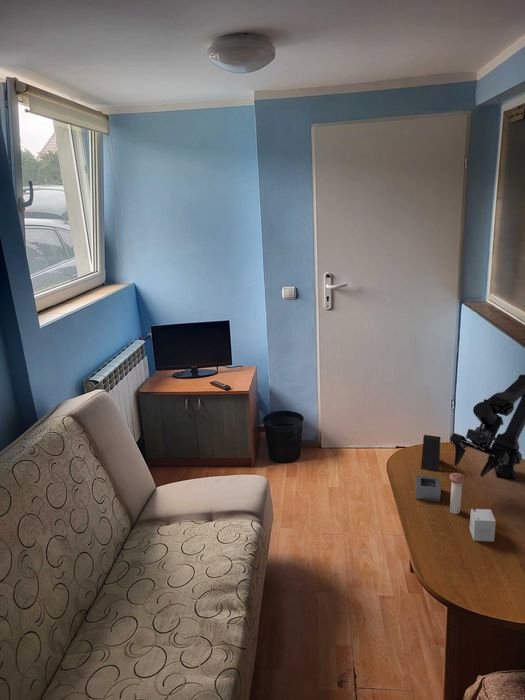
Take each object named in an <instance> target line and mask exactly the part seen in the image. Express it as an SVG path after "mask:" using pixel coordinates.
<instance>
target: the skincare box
mask: <svg viewBox="0 0 525 700" xmlns="http://www.w3.org/2000/svg"><path fill="white" fill-rule="evenodd" d="M496 523H497V522H496V519H495V516H494V513H493V511H492V510H491V509H487V508H486V509H485V508H484V509H483V508H471V509H470V519H469V530H470V531H469V532H470V535H471V537H472V541H476V542H495V535H496V534H495V533H496V526H497V525H496Z"/></svg>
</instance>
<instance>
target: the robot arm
mask: <svg viewBox="0 0 525 700" xmlns="http://www.w3.org/2000/svg"><path fill="white" fill-rule="evenodd" d="M518 400H519V402H518V405H517V406H516V409H515V405H514V404H515V403H516V402H517V401H518ZM472 409H473V411H472V412H473V415H474V416H475V417H476V419H477V420H478V421H479V422H480V425H479V426H476V428H475V429H471V428H468V429H467V432H466V435H465V436H463V435H461V434H459V433H452V434H451V435H450V437H449V440H450V441H451V442H452V445H454V447H455V455H454V466H455V467H457V466H458V465H459V464H460V462H461V459H462V458H463V456H464V455H465V452H466V448H470V449H472V450H475V451H479V452H480V453H484V454H486V455H488V457H487V460H486V463H485V465H484V467H483V468H482V470H481V472H480V475H479V476H480V477H481V478H482V477H484V476H485V475H487V474H488V473H489V472H490V471H492V470H493V469H494V473H495V476H496V478H503V479H511V480H515V479H517V477H516V474H515V466H516V465H519V464H521V461H522V457H523V454H522V453H521V452H520V451H519V450H520V444H519V443H520V442H519V438H520V436H521V434H522V431H523V430H524V428H525V374H519V376H518V378H517V379H516V380H515V381H514V382H513V383H511V384H510V386H508V387H507V388H506V389H504V391H502V392H496V393H494V394H493V395H491V396H490V397H488V399H486V398H484V400H482V401H480V402H477V403H476V404H475V405H474V406H473V408H472ZM514 409H515V410H514ZM513 411H514V412H513ZM511 413H513V415H512V416H511V418H510V421H509V424H508V425H507V427H506V429H505V431H503V433H498V431H499V429H500V427H501V426H503V425H504V420H503V416H505V417H507V416H509V415H510V414H511ZM500 415H501V416H500Z"/></svg>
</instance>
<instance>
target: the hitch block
mask: <svg viewBox="0 0 525 700" xmlns="http://www.w3.org/2000/svg"><path fill="white" fill-rule="evenodd" d="M441 493H442V492H441V478H440V477H438V476H429V475H427V476H425V475H415V500H422V501H430V500H431V502H432V501H433V502H441Z"/></svg>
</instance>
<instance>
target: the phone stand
mask: <svg viewBox="0 0 525 700" xmlns="http://www.w3.org/2000/svg"><path fill="white" fill-rule="evenodd" d="M422 438H423V440H422V441H423V443H422V453H421V454H422V455H421V463H420V465H421V466H420V469H423V470H429V471H435V472H438V470H439V467H440V466H439V465H440V460H441V440H442V439H441V436H436V435H428V434H424V435H423V437H422Z"/></svg>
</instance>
